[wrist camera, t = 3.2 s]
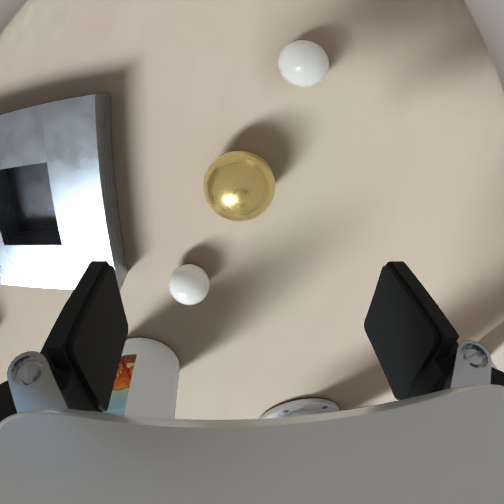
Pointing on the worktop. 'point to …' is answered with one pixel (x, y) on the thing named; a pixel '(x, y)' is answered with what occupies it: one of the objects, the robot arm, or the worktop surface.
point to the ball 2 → (303, 63)
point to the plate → (58, 193)
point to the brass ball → (239, 185)
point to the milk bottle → (145, 380)
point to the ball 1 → (189, 284)
